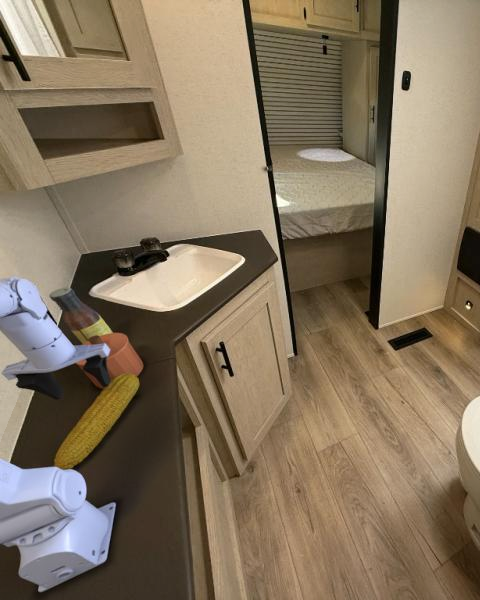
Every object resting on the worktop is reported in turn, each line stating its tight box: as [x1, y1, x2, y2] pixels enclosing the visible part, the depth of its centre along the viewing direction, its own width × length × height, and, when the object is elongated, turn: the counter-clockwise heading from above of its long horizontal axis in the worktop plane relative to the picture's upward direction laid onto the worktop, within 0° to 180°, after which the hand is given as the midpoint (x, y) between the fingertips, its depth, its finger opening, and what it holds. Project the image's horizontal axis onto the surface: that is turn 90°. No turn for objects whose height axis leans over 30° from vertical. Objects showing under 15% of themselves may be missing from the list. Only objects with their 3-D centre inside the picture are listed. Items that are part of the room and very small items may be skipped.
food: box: [53, 373, 140, 470], centre depth 66 cm, size 21×6×6 cm, turn 5°
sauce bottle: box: [49, 286, 114, 345], centre depth 80 cm, size 6×6×20 cm
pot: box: [77, 341, 144, 390], centre depth 77 cm, size 10×10×8 cm
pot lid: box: [74, 332, 130, 366], centre depth 74 cm, size 10×10×4 cm
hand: (84, 389), depth 64 cm, fingers open, 7 cm apart
